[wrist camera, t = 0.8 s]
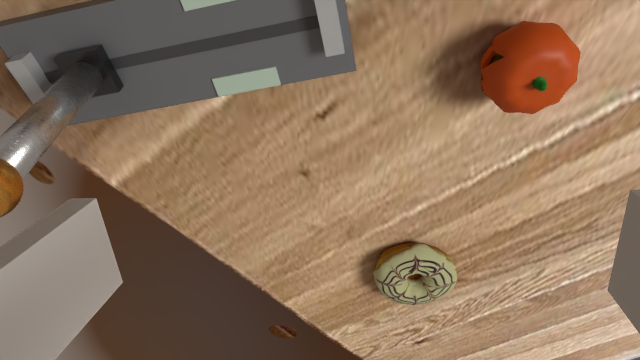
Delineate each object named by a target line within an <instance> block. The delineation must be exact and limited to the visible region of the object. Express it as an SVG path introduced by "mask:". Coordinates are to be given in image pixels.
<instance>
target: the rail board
mask: <svg viewBox="0 0 640 360" xmlns="http://www.w3.org/2000/svg"><path fill="white" fill-rule="evenodd" d="M100 44H102V46H103V48H104V50H105V51H106V53H107V55H108V57H109V59H110V61H111V63H112V64H113V66H114V68H115V70H116V72H117V74H118V75H119V77H120V79H121V81H122V83H123V85H124V87H123V88H122V89H121V91H120V92H117V93H112V94H107V95H102V96H97V97H92V98H90V99H89V100H88V102H87V103H86V104H85V105H84V106H83V108H82V109H81V110H80V111H79V112H78V114H77V115H76V116H75V117H74V118H73V120H72V121H71V122H70V123H69V124H68V125H73V124H78V123H83V122H89V121H94V120H99V119H104V118H110V117H115V116H120V115H125V114H131V113H136V112H141V111H146V110H152V109H157V108H162V107H168V106H173V105H178V104H183V103H189V102H194V101H199V100H204V99H210V98H215V97H220V96H225V95H231V94H236V93H241V92H247V91H252V90H257V89H262V88H268V87H273V86H278V85H283V84H289V83H294V82H299V81H304V80H310V79H315V78H320V77H326V76H331V75H336V74H341V73H347V72H352V71H356V65H355V58H354V52H353V46H352V40H351V34H350V28H349V22H348V16H347V10H346V4H345V0H92V1H87V2H83V3H78V4H74V5H70V6H65V7H61V8H57V9H52V10H48V11H44V12H39V13H35V14H31V15H26V16H22V17H17V18H13V19H9V20H4V21H1V22H0V47H1V49H2V50H3V51H4V53H5V54H6V56H7V57H8V59H9V60H8V61H6V62H5V63H4V64H5V65H6V67H7V68H8V69H9V71H10V72H11V74H12V75H13V76H14V78H15V79H16V81H17V82H18V83H19V85H20V86H21V88H22V89H23V91H24V92H25V93H26V95H27V96H28V98H29V99H30V100H31V102H32V103H33V104H34V103H35V102H36V101H37V100H38V99H39V98H40V97H41V96H42V95H43V94H44V93H45V92H46V91H47V90H48V89H49V88H50V87H51V86H52V85H54V84H55V83H56V82H57V81H58V80H59V79H60V78H61V77H62V76H63V74H62V73H61V71H60V69H59V68H58V66H57V65H56V63H55V62H54V60H53V58H55V57H56V56H57V55H58V54H59V53H63V52H67V51H72V50H77V49H81V48H86V47H91V46H95V45H100Z"/></svg>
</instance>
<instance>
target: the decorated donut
mask: <svg viewBox="0 0 640 360" xmlns="http://www.w3.org/2000/svg"><path fill="white" fill-rule="evenodd" d="M373 274H374V278H375V283H376V285H377V287H378V289H379V290H380V292H381V293H382V294H383V295H384V296H385V297H386V298H388V299H391V300H392V301H395V302H398V303H400V304H407V305H418V304H425V303H429V302H432V301H435V300H437V299H439V298H440V297H442V296H443V295H445V294H447V293H448V292H449V291H450V290H452V289H453V288H454V286H455V283H456V281H457V272H456V269H455V265H454V263H453V261H452V259H451V258H450V257H449V256H448V255H447V254H446V253H444V252H443V251H442V250H440V249H438V248H436V247H432V246H430V245H426V244H421V243H418V244H417V243H406V244H399V245H396V246H395V247H391V248H388V249H387V250H385V251H383V253H382V254H381V256H380V258H379V259H378V261H377V262H376V266H375V270H374V272H373Z"/></svg>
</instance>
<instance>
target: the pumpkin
mask: <svg viewBox="0 0 640 360" xmlns="http://www.w3.org/2000/svg"><path fill="white" fill-rule="evenodd" d="M482 57H483V58H482V60H480V63H481V89H482V91H483V92H484V94H485V95H486V96H488V97H489V98H490V99H491V100H493V101H494V103H495V104H496V105H497V106H498V107H499V108H500V109H501V110H503V111H504V112H508V113H515V112H521V113H529V114H534V113H536V112H538V111H540V110H541V109H543V108H545V107H547V106H550V105H553V104H556V103H558V102H559V101H560V99H561V98H562V97H563V95H564V94H565V93H566V91H567V90H568V89H569V88H570V87H571V86H572V85H573V84H574V83H575V82H576V81H577V71H578V63H579V59H580V50H579V48H578V47H577V46H576V45H575V44H574V42H573V41H572V40H571V39H570V38H569V37H568V36H567V34H566V33H565V32H564V31H563V29H562V28H561V27H560V26H559V25H557V24H554V23H536V22H527V21H523V22H520V23H519V24H517V25H515V26H514V27H512V28H510V29H508V30H506V31H504V32H502V33H500V34H498V35H496V36H495V38H494V40H493V41H492V43H491V46H490V47H489V48H488V49H487V51H486V52H485V53H484V55H483V56H482Z"/></svg>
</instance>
